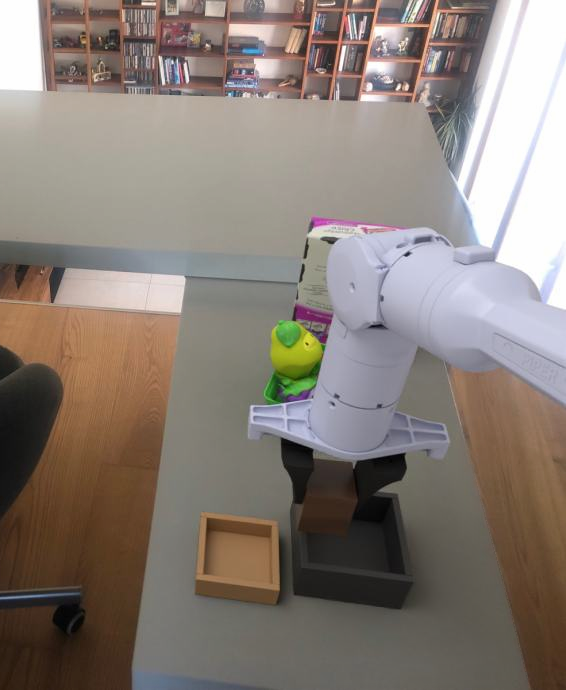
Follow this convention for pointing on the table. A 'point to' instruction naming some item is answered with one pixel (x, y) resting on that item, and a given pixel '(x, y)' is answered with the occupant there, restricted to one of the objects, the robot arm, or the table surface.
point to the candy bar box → (323, 271)
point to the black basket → (356, 557)
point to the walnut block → (328, 499)
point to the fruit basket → (293, 364)
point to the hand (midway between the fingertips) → (325, 497)
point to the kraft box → (238, 558)
